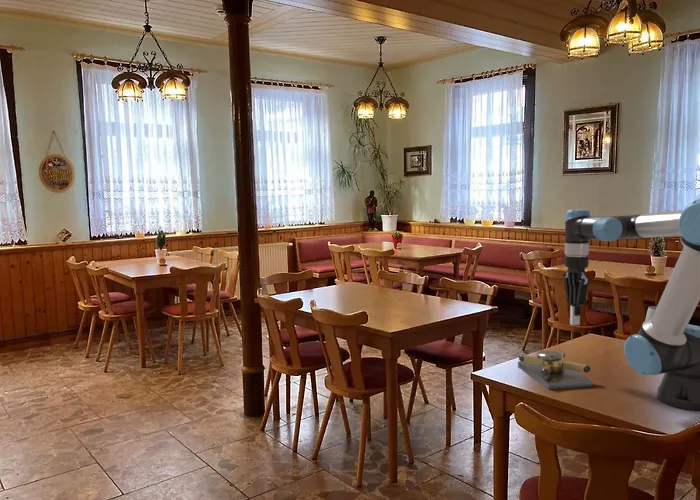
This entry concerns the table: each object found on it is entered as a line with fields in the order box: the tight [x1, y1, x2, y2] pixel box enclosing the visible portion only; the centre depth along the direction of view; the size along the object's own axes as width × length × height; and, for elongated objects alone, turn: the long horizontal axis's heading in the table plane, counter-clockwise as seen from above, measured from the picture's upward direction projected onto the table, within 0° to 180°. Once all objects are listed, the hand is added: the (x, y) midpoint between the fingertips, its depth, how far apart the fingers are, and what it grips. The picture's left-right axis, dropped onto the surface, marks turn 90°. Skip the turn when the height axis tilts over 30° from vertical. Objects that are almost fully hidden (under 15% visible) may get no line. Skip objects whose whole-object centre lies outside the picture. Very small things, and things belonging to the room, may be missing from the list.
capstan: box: [518, 349, 592, 376], centre depth 194 cm, size 24×24×5 cm
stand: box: [517, 360, 593, 390], centre depth 194 cm, size 22×15×3 cm
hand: (574, 324), depth 195 cm, fingers closed
